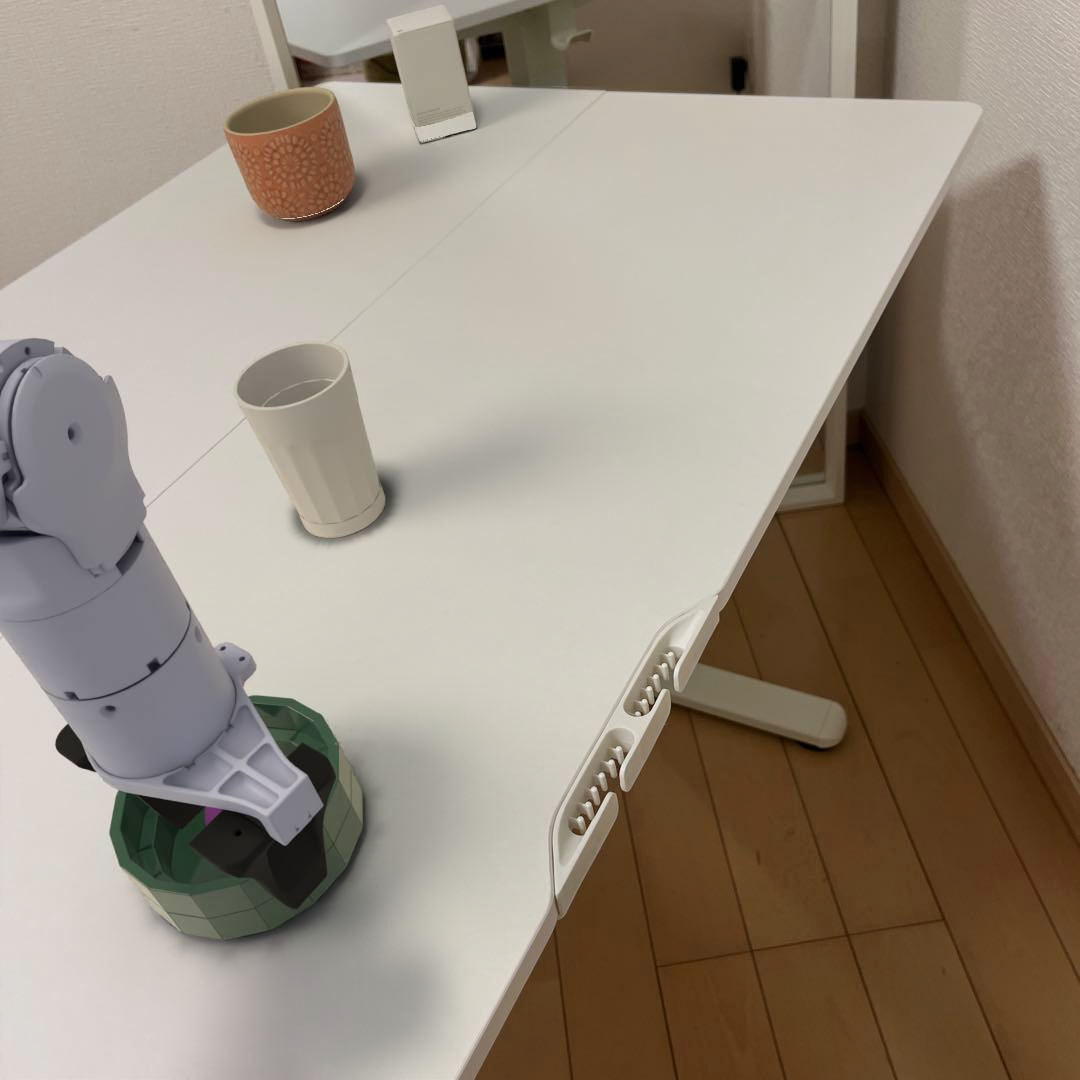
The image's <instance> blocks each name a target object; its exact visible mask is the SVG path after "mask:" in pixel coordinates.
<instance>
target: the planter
mask: <svg viewBox="0 0 1080 1080" xmlns="http://www.w3.org/2000/svg"><path fill="white" fill-rule="evenodd" d="M222 128H223V134H224V136H225V139H226V141H227V144H228V147H229V149H230V151H231V154H232V156H233V158H234V161H235V164H236V165H237V167H238V170H239V172H240V174H241V177H242V179H243V181H244V184H245V186H246V189H247V191H248V193H249V195H250V197H251V199H252V201H253V202H254V203H255V205H256V206H257V207H258V208H259V209H260V210H261V211H263V212H264V214H267V215H269V216H271V217H272V218H276V217H278V218H276V219H279V220H281V221H286V222H287V221H288V222H302V221H308V220H313V219H316V218H319V217H322V216H325V215H326V214H327V215H328V214H329V213H331V212H332V211H334V210H336V209H337V208H338V207H339V206H340V205H341V204H342V203H344V201H346V199H347V197H348V196H349V194H350V193H351V191H352V189H353V187H354V183H355V179H356V178H355V177H356V169H355V163H354V157H353V154H352V150H351V146H350V142H349V138H348V135H347V130H346V126H345V122H344V119H343V115H342V111H341V108H340V104H339V102H338V99H337V97H336V95H335V93H334V92H333V91H332V90H330V89H328V88H325V87H319V86H305V87H304V86H303V87H295V88H289V89H284V90H280V91H276V92H272V93H269V94H265V95H263V96H260V97H258V98H255V99H253V100H251V101H249V102H247V103H245V104H243V105H241V106H239V107H237V108H236V109H234V111H232V112H231V113H229V115H228V116H227V117H225V119H224V121H223V124H222ZM349 192H350V193H349ZM347 195H348V196H347ZM346 196H347V197H346ZM345 197H346V198H345ZM344 198H345V199H344ZM342 199H344V200H343V201H341V200H342ZM340 201H341V202H340ZM338 202H340V203H339V204H337V203H338ZM335 204H337V205H335ZM333 205H335V206H334V207H332V206H333ZM330 207H332V208H330ZM327 208H330V209H328V210H326V209H327ZM323 210H325V211H323ZM321 211H323V212H321ZM319 212H320V213H319ZM315 213H318V214H315ZM311 214H314V215H311ZM308 215H311V216H308ZM303 216H307V217H303ZM297 217H302V218H297ZM281 218H295V219H281Z"/></svg>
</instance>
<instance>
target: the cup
mask: <svg viewBox="0 0 1080 1080" xmlns="http://www.w3.org/2000/svg"><path fill="white" fill-rule="evenodd" d="M356 387H357V386H356V382H355V378H354V375H353V371H352V366H351V363H350V358H349V355H348V353H347V352H346V350H345V349H344V348H342V347H341V346H339V345H338V344H335V343H332V342H329V341H322V340H309V341H300V342H295V343H290V344H286V345H283V346H280V347H278V348H275V349H272V350H270V351H268V352H266V353H264V354H262V355H261V356H259V357H256V359H254V360H252V361H251V362H250V363H248V364H247V365H246V366H245V367H244V368H243V369H242V371H240V372H239V374H238V375H237V376H236V378H235V380H234V382H233V385H232V395H233V398H234V399H235V401H236V403H237V404H238V407H239V408H240V410H241V412H242V413H243V415H244V417H245V419H246V421H247V422H248V424H249V426H250V428H251V430H252V431H253V433H254V435H255V437H256V438H257V440H258V443H259V444H260V447H262V450H263V451H264V453H265V455H266V457H267V458H268V460H269V462H270V464H271V466H272V467H273V469H274V471H275V473H276V475H277V477H278V479H279V480H280V482H281V484H282V486H283V488H284V489H285V491H286V493H287V495H288V497H289V499H290V501H291V502H292V505H293V506H294V508H295V509H296V511H297V513H298V515H299V519H300V520H301V523H302V525H303V527H304V528H305V530H306V531H307V532H308V533H309V534H311V535H313V536H315V537H319V538H326V539H335V538H342V537H346V536H350V535H353V534H355V533H357V532H360V531H362V530H363V529H365V528H367V527H369V526H370V525H371V524H372V523H374V522H375V521H376V520H377V519H378V517H380V516H381V514H382V512H383V511H384V508H385V506H386V495H385V492H384V489H383V487H382V483H381V481H380V479H379V476H378V472H377V467H376V464H375V463H376V462H375V460H374V456H373V452H372V449H371V448H372V447H371V445H370V441H369V438H368V437H369V436H368V432H367V430H366V425H365V421H364V418H363V414H362V410H361V406H360V402H359V395H358V392H357V388H356Z"/></svg>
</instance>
